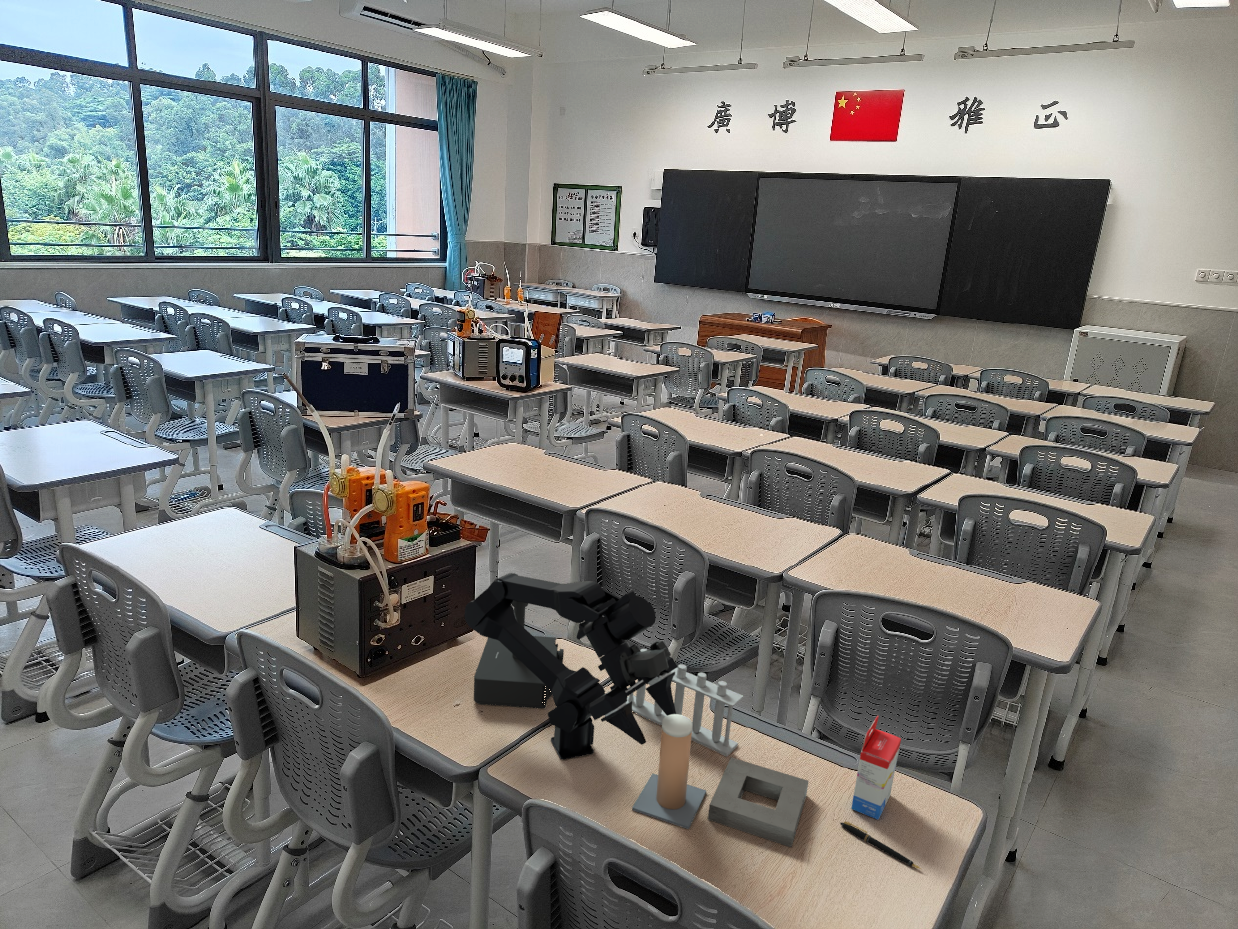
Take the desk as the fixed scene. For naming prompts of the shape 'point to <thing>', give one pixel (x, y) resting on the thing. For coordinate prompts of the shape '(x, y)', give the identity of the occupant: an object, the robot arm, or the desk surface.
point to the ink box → (875, 771)
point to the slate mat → (654, 809)
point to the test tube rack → (695, 708)
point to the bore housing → (754, 816)
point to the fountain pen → (876, 843)
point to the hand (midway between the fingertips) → (659, 731)
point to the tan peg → (674, 761)
